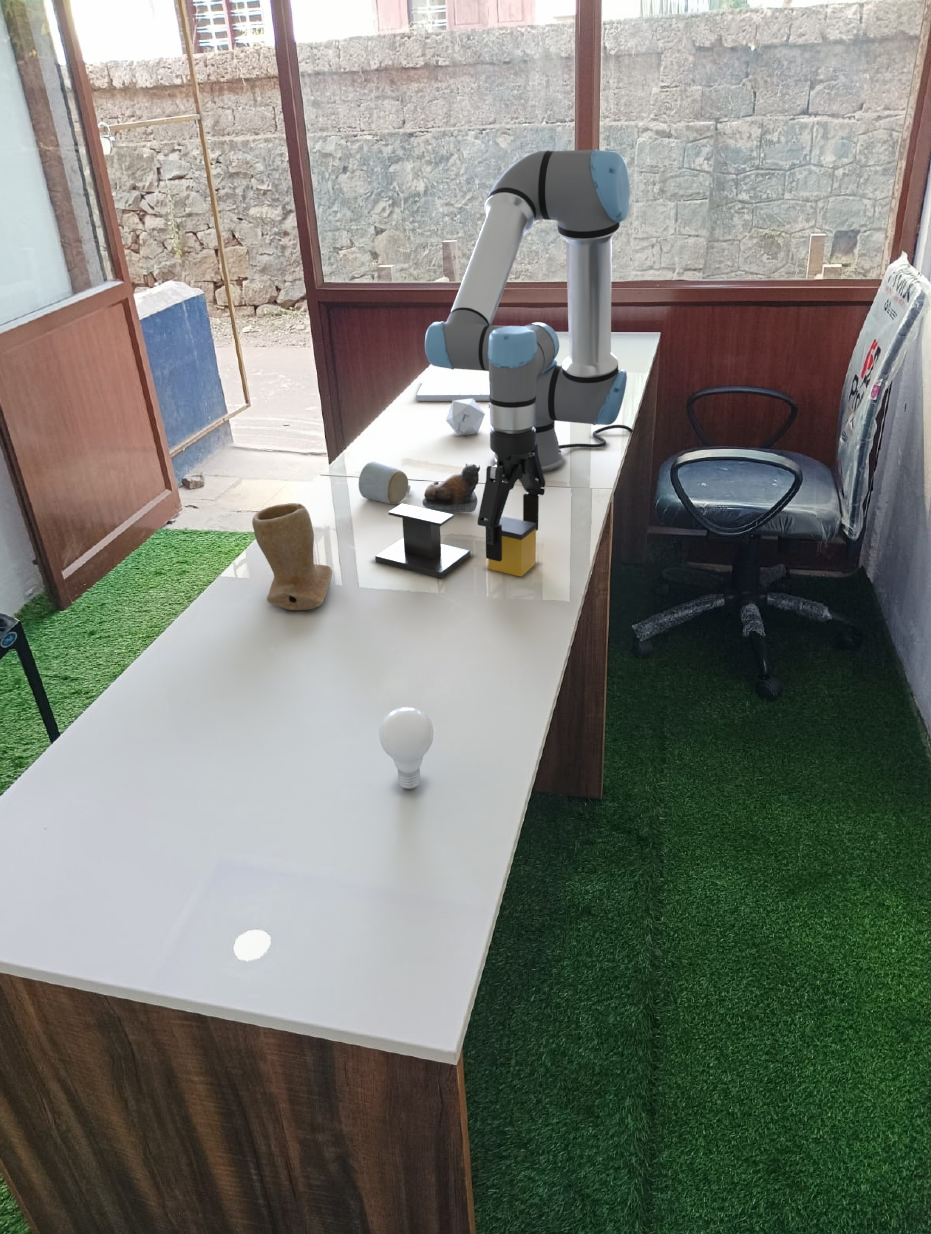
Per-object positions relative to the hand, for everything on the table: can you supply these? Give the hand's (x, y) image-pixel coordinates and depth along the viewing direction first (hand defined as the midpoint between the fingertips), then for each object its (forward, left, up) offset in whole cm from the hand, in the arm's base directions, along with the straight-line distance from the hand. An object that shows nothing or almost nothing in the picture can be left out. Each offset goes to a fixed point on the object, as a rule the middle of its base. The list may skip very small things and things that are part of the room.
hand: (512, 543), depth 160 cm
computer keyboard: (-70, -85, -5) cm, 110 cm away
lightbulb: (+49, +36, -5) cm, 61 cm away
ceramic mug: (-2, -41, -5) cm, 41 cm away
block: (0, 0, -4) cm, 4 cm away
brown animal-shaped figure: (-8, -27, -5) cm, 28 cm away
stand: (+10, -13, -4) cm, 17 cm away
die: (-41, -63, -5) cm, 75 cm away
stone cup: (+34, -17, -5) cm, 38 cm away
